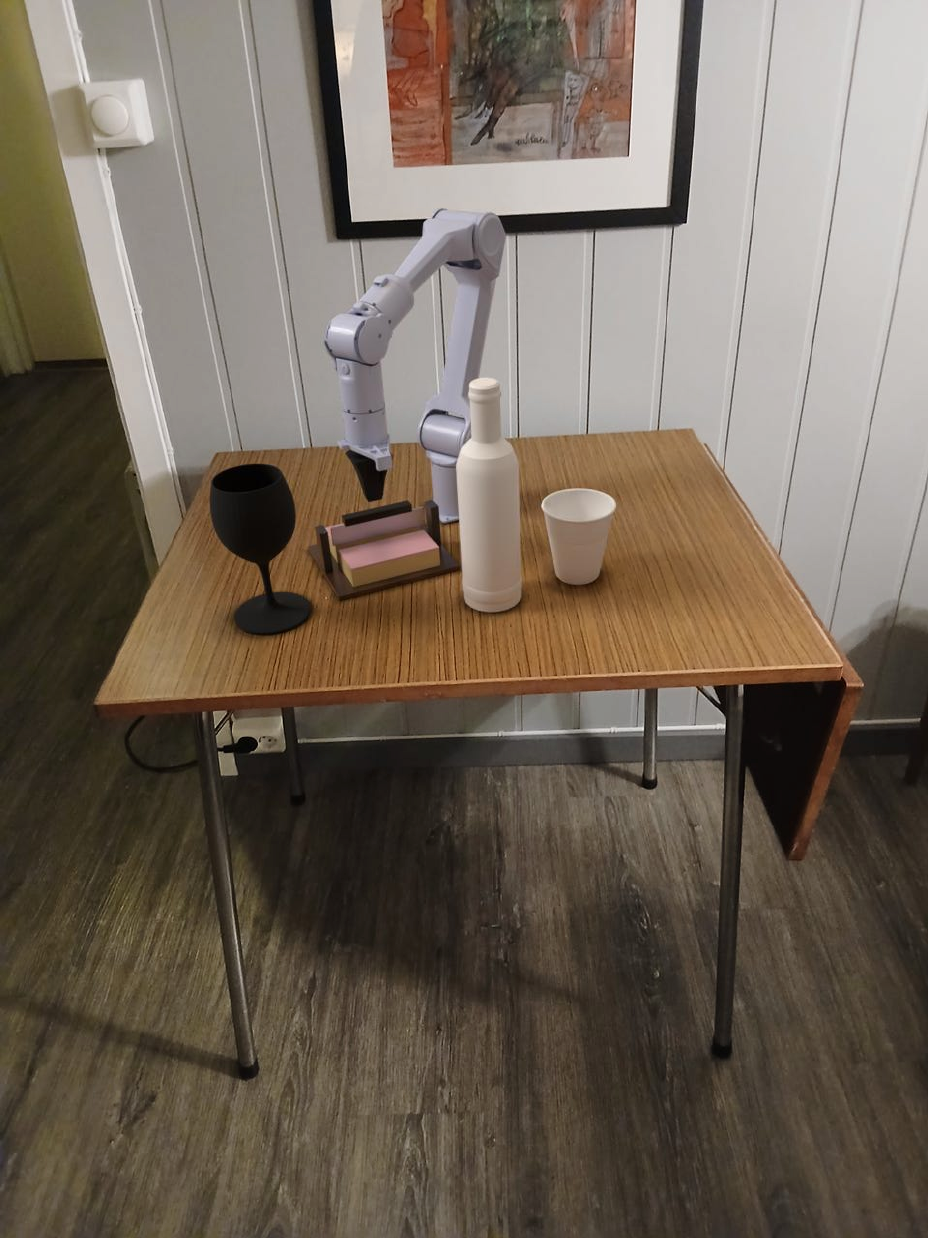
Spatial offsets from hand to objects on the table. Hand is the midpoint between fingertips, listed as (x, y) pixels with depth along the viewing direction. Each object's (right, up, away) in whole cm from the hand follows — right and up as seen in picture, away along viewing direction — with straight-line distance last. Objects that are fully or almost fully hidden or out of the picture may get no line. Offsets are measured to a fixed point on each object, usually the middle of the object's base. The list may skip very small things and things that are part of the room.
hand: (373, 498), depth 131 cm
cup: (+29, -11, -2) cm, 31 cm away
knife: (+1, -5, +2) cm, 5 cm away
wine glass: (-13, -16, -6) cm, 22 cm away
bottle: (+17, -14, -5) cm, 23 cm away
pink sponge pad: (+1, -8, +5) cm, 10 cm away
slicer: (+1, -8, +5) cm, 10 cm away
